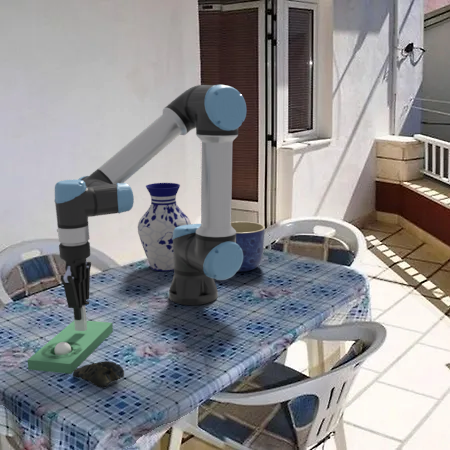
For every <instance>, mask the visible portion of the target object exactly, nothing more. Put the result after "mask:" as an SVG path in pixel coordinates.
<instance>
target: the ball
mask: <svg viewBox="0 0 450 450" xmlns="http://www.w3.org/2000/svg"><path fill="white" fill-rule="evenodd" d="M54 352H55V355H65V354H68V353H71V346H70V345H69V344H68V343H66V342H60V343H58V344H57V345H56V347H55V350H54Z"/></svg>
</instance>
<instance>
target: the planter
mask: <svg viewBox="0 0 450 450" xmlns="http://www.w3.org/2000/svg"><path fill="white" fill-rule="evenodd" d="M231 226H232V227H233V228H234V229H235V230H236V244H238V245H239V246H240V248H241V249H242V252H243V262H242V265H241V267H240V269H239V270H238V271H237V272H249V271H253V270H255V269H256V268H257V267H259V265H260V264H261V262H262V261H263V260H262V259H263V256H264V246H265V233H266V226H265V225H263V224H262V223H258V222H253V221H252V222H251V221H231Z"/></svg>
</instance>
